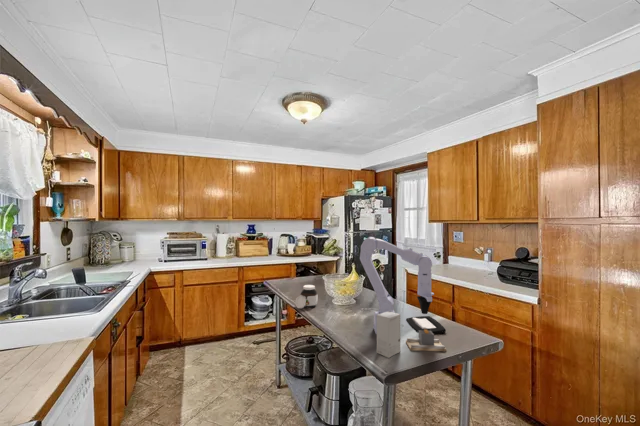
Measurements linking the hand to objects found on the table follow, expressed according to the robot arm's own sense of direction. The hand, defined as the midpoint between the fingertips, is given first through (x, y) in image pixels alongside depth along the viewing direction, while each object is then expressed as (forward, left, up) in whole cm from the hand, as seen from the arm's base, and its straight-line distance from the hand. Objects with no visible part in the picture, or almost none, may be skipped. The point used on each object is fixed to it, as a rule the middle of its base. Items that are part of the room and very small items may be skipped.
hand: (424, 313), depth 129 cm
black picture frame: (+4, +12, -10) cm, 16 cm away
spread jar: (-56, +38, -10) cm, 69 cm away
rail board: (-3, -11, -10) cm, 15 cm away
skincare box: (-19, -17, -10) cm, 27 cm away
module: (-3, -11, -9) cm, 15 cm away
